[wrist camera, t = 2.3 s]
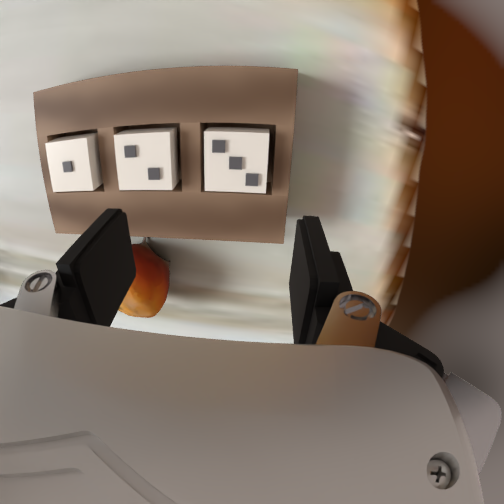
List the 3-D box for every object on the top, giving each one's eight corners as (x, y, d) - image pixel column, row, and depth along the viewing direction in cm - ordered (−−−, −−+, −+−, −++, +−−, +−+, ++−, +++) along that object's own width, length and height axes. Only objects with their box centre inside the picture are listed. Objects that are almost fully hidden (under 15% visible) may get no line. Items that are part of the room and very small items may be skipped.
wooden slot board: (63, 86, 23) (33, 92, 19) (291, 71, 23) (297, 69, 18) (79, 211, 30) (55, 233, 26) (280, 217, 30) (283, 243, 26)
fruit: (198, 261, 32) (160, 328, 27) (172, 275, 38) (139, 329, 34) (136, 212, 29) (89, 277, 25) (120, 235, 35) (83, 289, 31)
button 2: (124, 130, 22) (112, 135, 20) (176, 127, 22) (168, 132, 20) (128, 181, 24) (118, 191, 22) (178, 181, 24) (171, 191, 22)
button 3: (208, 127, 22) (203, 131, 20) (268, 128, 22) (269, 133, 20) (209, 181, 24) (204, 191, 22) (265, 184, 24) (265, 194, 22)
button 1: (57, 137, 22) (43, 144, 20) (98, 132, 22) (85, 138, 20) (64, 183, 24) (52, 192, 23) (103, 182, 24) (92, 191, 23)
